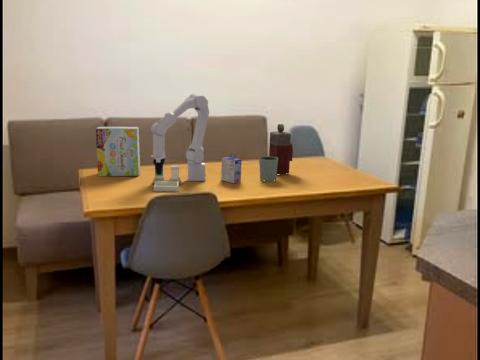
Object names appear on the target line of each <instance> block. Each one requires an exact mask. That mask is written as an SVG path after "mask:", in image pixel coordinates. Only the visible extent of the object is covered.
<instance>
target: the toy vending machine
mask: <svg viewBox="0 0 480 360" xmlns="http://www.w3.org/2000/svg"><path fill="white" fill-rule="evenodd" d="M276 129H277V130H276V131H270V132H269V146H268V147H269V149H268V150H269V152H268V153H269V154H268V156H271V157H277V158H278V164H277V174H286V173H289V174H290V163H291V162H293V153H294V152H293V151H294V148H293V144H292V143H291V142H292V134H291V133H290V132H288V131H285V125H284V124H283V123H278V125H277V127H276Z"/></svg>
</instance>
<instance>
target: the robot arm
mask: <svg viewBox="0 0 480 360" xmlns="http://www.w3.org/2000/svg"><path fill="white" fill-rule="evenodd" d="M189 109H193V110H194V111H196V113H197V118H196V122H195V128H194V133H193V137H192V141H191V143H190V145H189V146H188V147H187V150H186V152H185V155H184V156H185V158H186V160H187V176H186V181H188V182H193V181H194V182H206V176H207V175H206V163H205V162H203V161H204V159H205V154H204V152H205V149H204V147H203V144H204V138H205V133H206V129H207V125H208V119H209V116H210V110H209V101H208V99H207V98H206V96H204V95H200V94H199V95H198V94H195V93H192V94H190V95H189V96H188V97H186V99H184V101H183V102H182V103H181V104H180V105H178V106H177V108H175V109H174V110H173V111H172V112H168V113H167V112H166V113H164V116H163V117H161V119H158V120H157V122H154V123H153V124H152V125H151V127H150V132H151V133H152V155H150V158H153V161H152V163H153V165H154V169H155V168H156V173H157V175H161V173H162V167H163V168H164V164H165V160H166V159H165V158H166V153H165V152H166V151H165V148H166V147H165V145H166V143H165V135H166V133H167V130H169V129H170V127H172V126H173V125H175V123H177V118H178V117H180V116H181V115H183V113H186V111H187V110H189Z"/></svg>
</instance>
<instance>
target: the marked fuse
mask: <svg viewBox="0 0 480 360" xmlns="http://www.w3.org/2000/svg"><path fill="white" fill-rule="evenodd" d="M154 177H155V179H163V177H164V166H163V167H162V173H161V175H157V173H156V168H155V167H154Z"/></svg>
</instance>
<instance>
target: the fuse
mask: <svg viewBox="0 0 480 360" xmlns="http://www.w3.org/2000/svg"><path fill="white" fill-rule="evenodd" d="M170 168H171V169H170V177H171V179H179V177H180V165H171V166H170Z"/></svg>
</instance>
